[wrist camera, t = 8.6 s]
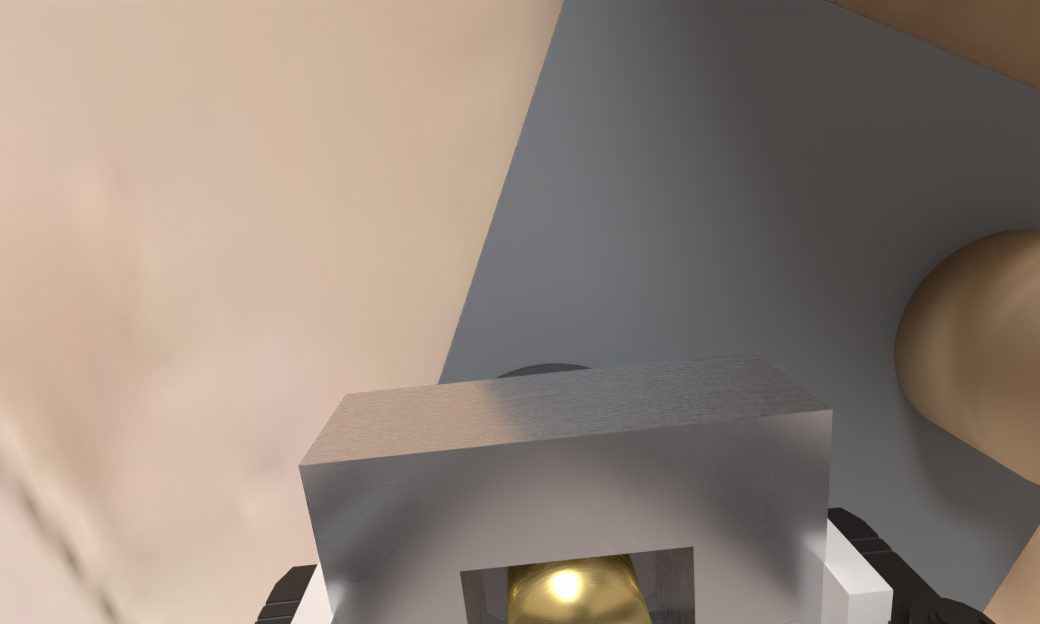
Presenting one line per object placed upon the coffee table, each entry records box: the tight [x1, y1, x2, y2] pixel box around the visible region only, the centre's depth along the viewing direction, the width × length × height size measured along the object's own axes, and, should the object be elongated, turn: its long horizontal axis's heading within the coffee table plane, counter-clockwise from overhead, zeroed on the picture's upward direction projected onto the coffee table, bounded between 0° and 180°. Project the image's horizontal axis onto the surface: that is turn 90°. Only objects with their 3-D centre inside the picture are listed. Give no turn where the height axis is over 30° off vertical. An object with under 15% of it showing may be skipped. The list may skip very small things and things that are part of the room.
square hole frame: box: [299, 351, 833, 624], centre depth 12 cm, size 9×9×3 cm
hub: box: [481, 363, 656, 624], centre depth 14 cm, size 7×7×6 cm
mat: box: [438, 0, 1040, 624], centre depth 17 cm, size 20×19×1 cm
